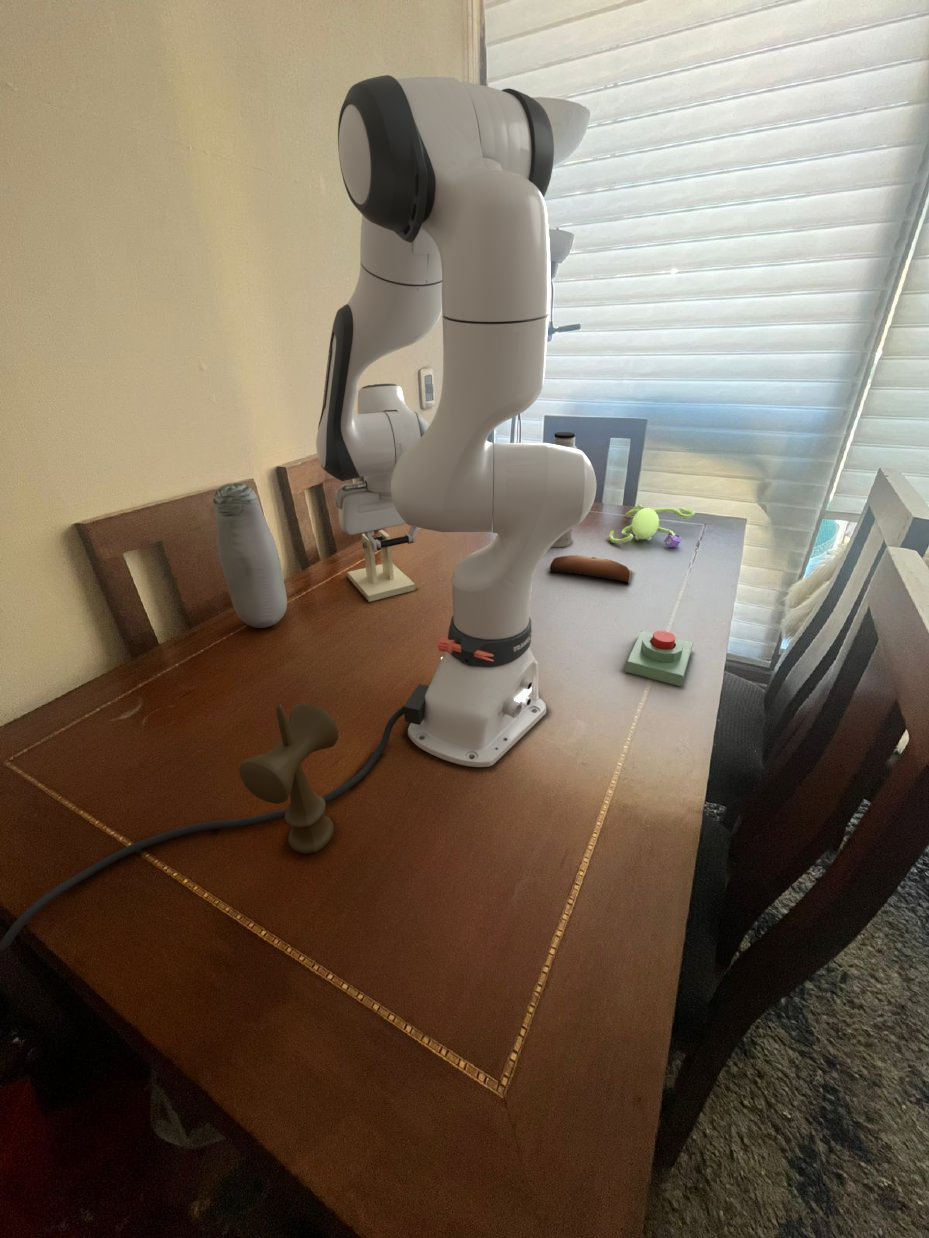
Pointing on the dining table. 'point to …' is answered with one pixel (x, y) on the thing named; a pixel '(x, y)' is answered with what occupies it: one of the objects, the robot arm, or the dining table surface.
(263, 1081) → the dining table surface
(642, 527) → the figurine
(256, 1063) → the dining table surface
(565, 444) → the thermos bottle
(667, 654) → the stop box
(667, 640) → the stop button
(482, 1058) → the dining table surface
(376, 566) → the switch bracket
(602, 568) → the sunglasses case
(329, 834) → the kendama
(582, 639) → the dining table surface
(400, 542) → the switch lever
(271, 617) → the grey bottle
